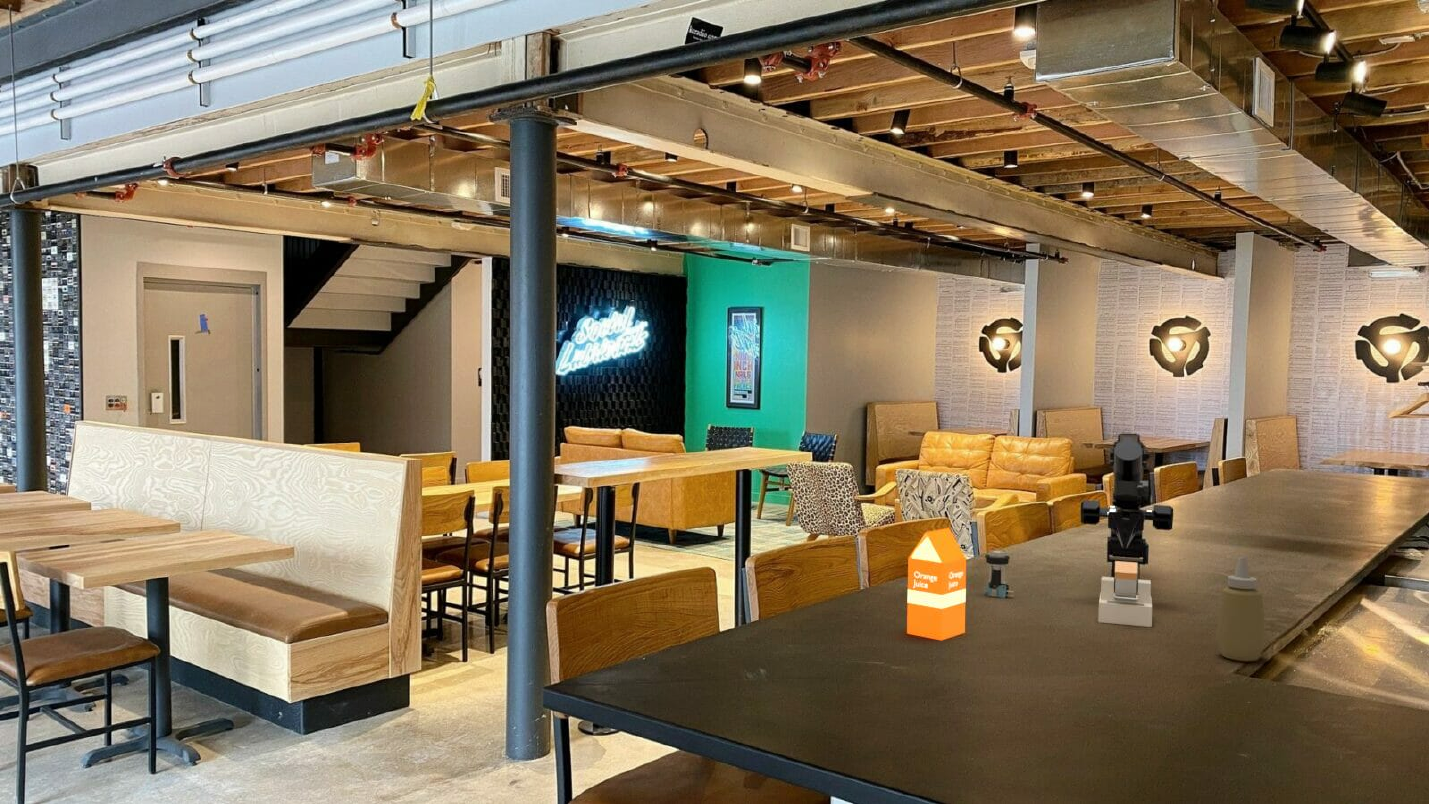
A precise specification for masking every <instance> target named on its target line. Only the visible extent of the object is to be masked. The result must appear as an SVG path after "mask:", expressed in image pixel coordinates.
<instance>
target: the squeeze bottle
mask: <svg viewBox="0 0 1429 804" xmlns="http://www.w3.org/2000/svg"><path fill="white" fill-rule="evenodd" d="M1257 586H1258V579H1257V578H1255V577H1253V576H1251V572H1250V568H1249V563H1248V558H1247V557H1246V556H1239V557H1238V560H1237V563H1236V568H1235V572H1234V575H1228V576H1227V587H1225V588H1223V589H1222V590H1221V595H1220V604H1219V609H1218V616H1217V617H1218V618H1217V623H1216V624H1217V625H1216V632H1215V637H1216V640H1217V643H1218V646H1219V650H1220V653H1221V655H1222V656H1223V657H1225V659H1226V658H1227V659H1230V660H1233V661H1239V662H1255V661H1259V659H1260V657H1261V654H1262V652H1263V650H1264V646H1265V644H1266V641H1267V635H1266V633H1267V632H1266V623H1265V621H1266V620H1265V612H1264V611H1265V610H1264V599H1263V597H1264V596H1263V593H1262V592H1261V591H1260V590H1258V589H1257Z"/></svg>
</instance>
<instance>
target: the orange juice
mask: <svg viewBox="0 0 1429 804" xmlns="http://www.w3.org/2000/svg"><path fill="white" fill-rule="evenodd" d="M907 560H908V562H907V563H908V564H907V565H908V567H907V568H908V569H907V597H906V598H907V601H906V602H907V611H906V612H907V617H906V619H907V620H906V622H907V623H906V634H908V635H913V636H918V637H922V638H928V639H932V640H937V641H944V640H947V639H950V638H954V637H955V636H958V635H961V634H965V633H966V601H967V599H966V597H967V595H966V594H967V588H966V583H967V582H966V581H967V579H966V578H967V576H966V575H967V557H966V556H965V554H964V553H963V551H962V549H961V547H960V545H959V544H958V541H957V539H956V538H955V536H954V534H953V533H952V531H951V529H950V527H946V528H940V529H935V530H930V531H926V532H925V533H924V534H923V536H922V537H921V539H920V541H919V542H918V543H917V545H916V546H915V547H914V549H913V551H912V552H911V554H910V555H909V556H908V559H907Z"/></svg>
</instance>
